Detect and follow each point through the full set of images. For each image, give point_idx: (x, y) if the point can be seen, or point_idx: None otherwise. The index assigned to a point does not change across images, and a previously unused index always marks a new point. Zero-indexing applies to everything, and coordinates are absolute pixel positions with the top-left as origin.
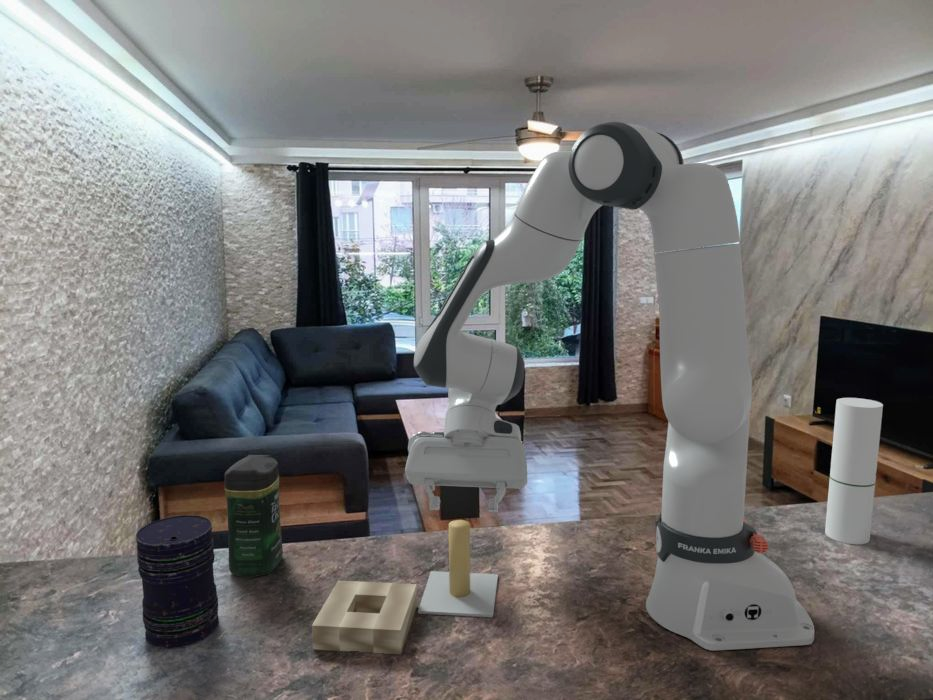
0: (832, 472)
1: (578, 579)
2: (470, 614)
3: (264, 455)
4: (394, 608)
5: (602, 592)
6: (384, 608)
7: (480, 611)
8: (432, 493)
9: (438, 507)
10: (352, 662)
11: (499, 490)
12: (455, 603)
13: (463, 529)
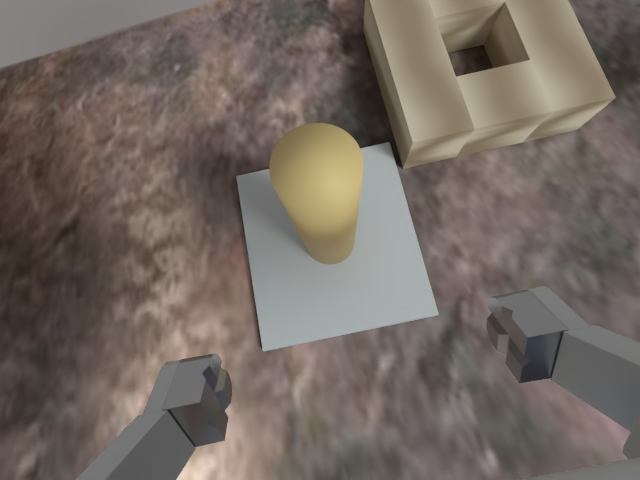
0: None
1: (68, 397)
2: None
3: None
4: (413, 41)
5: (17, 348)
6: (434, 36)
7: (263, 179)
8: (589, 341)
9: (489, 308)
10: None
11: (105, 476)
12: None
13: (286, 138)
